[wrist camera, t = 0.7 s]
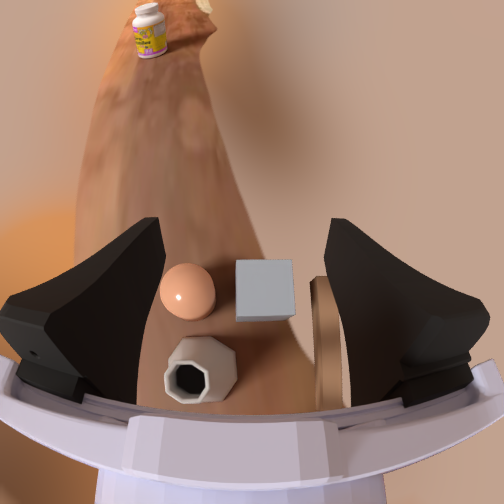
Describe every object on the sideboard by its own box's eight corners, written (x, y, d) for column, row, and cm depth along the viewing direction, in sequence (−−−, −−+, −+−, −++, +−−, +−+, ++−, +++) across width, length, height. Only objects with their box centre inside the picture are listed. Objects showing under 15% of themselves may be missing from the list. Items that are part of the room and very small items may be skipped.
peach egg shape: (216, 321, 27) (214, 317, 23) (168, 320, 26) (158, 316, 23) (216, 274, 29) (214, 263, 25) (170, 274, 28) (161, 263, 24)
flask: (160, 391, 24) (126, 411, 14) (177, 326, 26) (149, 314, 17) (229, 410, 24) (228, 443, 14) (246, 345, 26) (254, 344, 17)
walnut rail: (333, 406, 24) (342, 411, 22) (315, 409, 24) (323, 414, 22) (326, 281, 29) (334, 275, 27) (309, 282, 29) (316, 276, 27)
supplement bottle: (132, 57, 43) (123, 11, 31) (154, 45, 45) (148, 1, 33) (152, 61, 42) (143, 11, 30) (174, 48, 44) (169, 1, 32)
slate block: (284, 320, 27) (295, 314, 23) (236, 321, 27) (237, 316, 22) (281, 274, 29) (291, 259, 24) (235, 274, 29) (236, 259, 24)
